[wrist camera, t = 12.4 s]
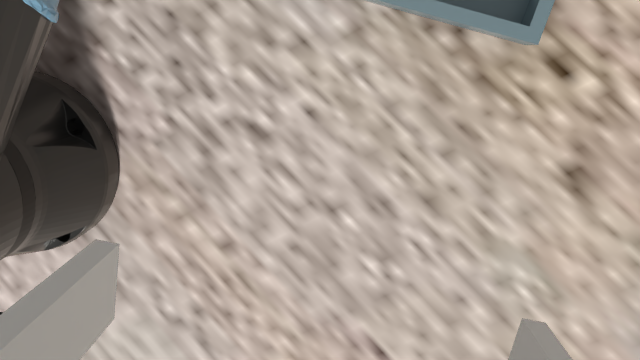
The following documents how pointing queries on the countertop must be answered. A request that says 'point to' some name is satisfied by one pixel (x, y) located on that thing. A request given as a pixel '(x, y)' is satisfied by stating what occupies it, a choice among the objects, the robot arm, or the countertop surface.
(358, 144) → the countertop surface
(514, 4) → the parts tray
